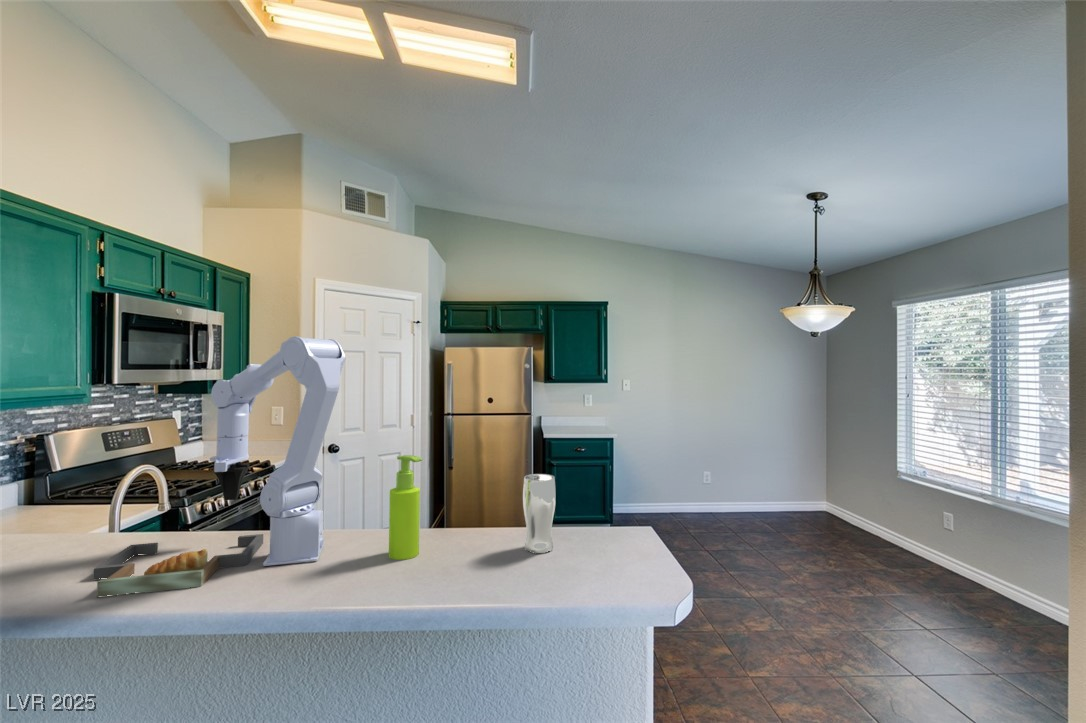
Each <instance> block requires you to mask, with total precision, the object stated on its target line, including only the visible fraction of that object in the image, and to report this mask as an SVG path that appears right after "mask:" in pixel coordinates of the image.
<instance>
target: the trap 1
mask: <svg viewBox="0 0 1086 723" xmlns="http://www.w3.org/2000/svg"><path fill="white" fill-rule="evenodd" d="M158 546H159V543H158V542H149V543H138V544H136V543H135V544H130V545H129V546H126V547H125V548H124V549H122V550H120V551H119V552H117V553H116V554H114V555H113V556H111V557H110V558H108V559H107V560H105V561H103V562H102V563H100V564H99V565H98V566H96V567H94V568H93V578H92V579H99V578H100V580H101V578H108V577H110V576H111V575H112V574H114V573H115V572H117V571H118V570H120V569H121V568H122V567H124V566H125V565H127V564H128V563H126V562H127V561H126V560H127V559H129V558H130V557H132V556H133V555H138V554H154V555H156V554H157V552H159V551H158ZM155 553H156V554H155ZM132 558H133V557H132ZM129 560H130V559H129ZM125 561H126V562H125ZM123 562H125V563H124V564H122V563H123Z"/></svg>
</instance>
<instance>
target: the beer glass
mask: <svg viewBox="0 0 1086 723" xmlns="http://www.w3.org/2000/svg"><path fill="white" fill-rule="evenodd" d="M555 478H556V477H555V475H553V474H547V473H531V474H526V475H525V476H524V477H523V488H522V507H523V515H524V520H525V525H526V526H525V527H526V528H525V530H526V535H525V536H526V537H525V540H524V550H525V549H526V550H528V551H531V552H534V553H533V554H536V553H542V554H545V553H544V552H548V551H550V552H552V551H553V550H554V542H553V537H552V536H553V535H552V534H553V533H552V530H553V529H552V528H553V527H552V526H553V520H554V515H555V509H556V481H555ZM552 549H553V550H552ZM526 550H525V551H526ZM551 550H552V551H551ZM528 551H527V552H528ZM548 553H549V552H548Z"/></svg>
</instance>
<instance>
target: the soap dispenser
mask: <svg viewBox="0 0 1086 723" xmlns="http://www.w3.org/2000/svg"><path fill="white" fill-rule="evenodd" d="M396 458H397V460H399V461H400V470H398V471H397V472H396V481H395V482H396V486H395V487H393V488H391V489H390V490H389V515H388V516H389V518H388V522H389V523H388V524H389V526H388V527H389V528H388V558H390V559H391V560H394V561H395V560H396V561H406V560H410V559H413V558H416V557H417V556H418V555H419V554H420V500H421V498H420V497H421V490H420V487H418V486H414V482H415V480H414V479H415V478H414V477H415V476H414V475H415V473H414V471H413V470H411V469H410V465H411V464H410V462H413V463H418V462H422V461H423V458H421V457H419V456H416V455H413V454H411V455H409V454H407V455H406V454H404V455H398V456H397V457H396Z"/></svg>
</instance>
